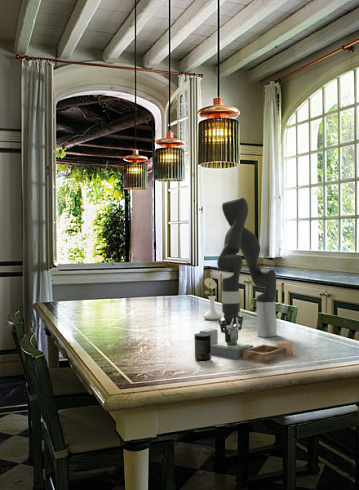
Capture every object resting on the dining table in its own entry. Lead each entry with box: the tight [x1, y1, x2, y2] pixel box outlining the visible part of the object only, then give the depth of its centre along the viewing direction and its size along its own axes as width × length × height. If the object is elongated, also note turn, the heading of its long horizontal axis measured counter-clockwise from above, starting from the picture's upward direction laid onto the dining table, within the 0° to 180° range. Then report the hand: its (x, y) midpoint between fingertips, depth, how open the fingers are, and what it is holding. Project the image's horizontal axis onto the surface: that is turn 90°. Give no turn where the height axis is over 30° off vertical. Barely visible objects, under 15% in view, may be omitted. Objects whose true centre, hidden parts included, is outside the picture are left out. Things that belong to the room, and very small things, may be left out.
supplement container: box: [194, 332, 212, 363], centre depth 207 cm, size 7×7×10 cm
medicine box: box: [199, 328, 219, 345], centre depth 226 cm, size 8×4×9 cm, turn 141°
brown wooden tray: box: [242, 343, 287, 364], centre depth 208 cm, size 11×15×4 cm
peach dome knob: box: [275, 340, 294, 357], centre depth 213 cm, size 7×7×5 cm
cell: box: [227, 328, 238, 346], centre depth 215 cm, size 4×4×7 cm
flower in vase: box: [202, 277, 223, 321], centre depth 307 cm, size 13×11×25 cm
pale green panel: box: [216, 341, 249, 349], centre depth 215 cm, size 8×11×1 cm
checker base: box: [211, 341, 254, 360], centre depth 216 cm, size 11×14×4 cm
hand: (231, 341), depth 215 cm, fingers closed on cell, 4 cm apart
